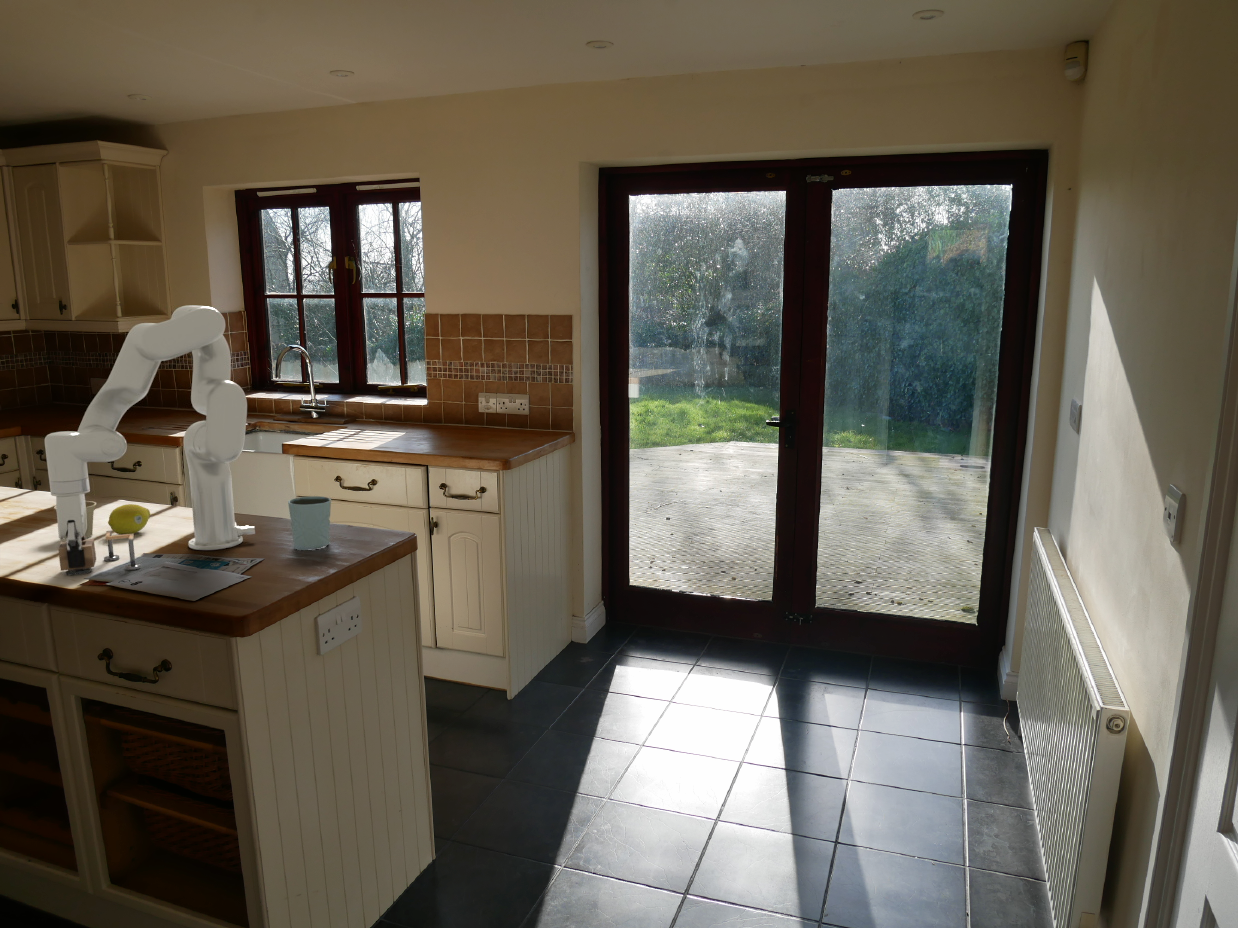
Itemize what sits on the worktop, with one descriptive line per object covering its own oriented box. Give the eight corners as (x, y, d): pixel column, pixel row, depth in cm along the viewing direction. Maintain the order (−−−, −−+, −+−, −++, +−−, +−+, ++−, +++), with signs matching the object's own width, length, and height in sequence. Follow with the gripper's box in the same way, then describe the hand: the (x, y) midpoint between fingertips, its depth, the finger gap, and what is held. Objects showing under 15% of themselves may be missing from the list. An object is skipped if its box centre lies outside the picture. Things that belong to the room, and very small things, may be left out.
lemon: (115, 540, 225) (111, 510, 224) (103, 535, 230) (99, 506, 229) (158, 532, 233) (155, 503, 232) (146, 527, 238) (143, 498, 237)
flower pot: (108, 532, 232) (104, 501, 231) (83, 542, 223) (79, 509, 222) (75, 531, 233) (71, 500, 232) (49, 541, 224) (45, 508, 222)
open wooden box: (96, 559, 204) (93, 538, 203) (93, 566, 198) (91, 545, 197) (64, 562, 201) (61, 542, 200) (60, 570, 196) (58, 549, 195)
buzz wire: (114, 556, 211) (111, 528, 210) (151, 565, 205) (148, 536, 204) (93, 562, 207) (90, 533, 206) (131, 571, 201) (128, 541, 199)
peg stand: (91, 567, 203) (87, 531, 201) (89, 572, 199) (85, 536, 198) (69, 569, 201) (65, 533, 199) (67, 575, 197) (62, 538, 196)
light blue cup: (282, 547, 220) (279, 501, 218) (313, 538, 229) (310, 493, 226) (311, 553, 215) (308, 506, 213) (341, 543, 224) (339, 498, 222)
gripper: (55, 480, 202) (64, 555, 206) (45, 496, 187) (54, 575, 191) (92, 478, 206) (100, 551, 209) (85, 492, 190) (94, 571, 194)
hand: (78, 562), depth 200 cm, fingers closed on open wooden box, 6 cm apart
